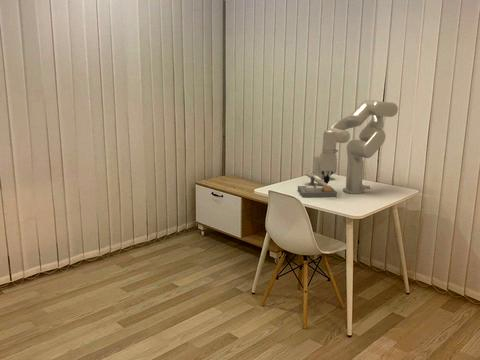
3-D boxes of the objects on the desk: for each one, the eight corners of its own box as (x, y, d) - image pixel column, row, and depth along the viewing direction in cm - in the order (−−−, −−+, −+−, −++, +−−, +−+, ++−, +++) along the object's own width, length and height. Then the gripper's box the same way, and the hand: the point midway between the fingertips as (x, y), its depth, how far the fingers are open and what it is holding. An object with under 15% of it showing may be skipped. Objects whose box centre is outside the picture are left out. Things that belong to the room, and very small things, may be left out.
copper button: (329, 190, 279) (329, 185, 278) (331, 192, 275) (331, 187, 274) (322, 190, 279) (322, 185, 278) (323, 192, 274) (324, 187, 274)
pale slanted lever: (326, 184, 297) (306, 172, 299) (321, 192, 299) (302, 180, 301) (328, 182, 304) (309, 169, 307) (323, 189, 307) (305, 177, 309)
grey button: (312, 190, 278) (313, 185, 278) (314, 192, 274) (314, 187, 274) (305, 190, 278) (305, 185, 278) (306, 192, 274) (307, 187, 273)
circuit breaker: (332, 181, 314) (333, 158, 311) (312, 178, 322) (313, 156, 318) (336, 179, 320) (337, 157, 317) (317, 176, 328) (318, 155, 325)
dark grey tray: (330, 190, 289) (330, 185, 289) (336, 197, 274) (336, 192, 273) (297, 190, 288) (297, 185, 287) (302, 197, 273) (302, 192, 272)
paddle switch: (314, 185, 287) (314, 176, 285) (315, 187, 282) (316, 177, 281) (308, 185, 286) (308, 176, 285) (309, 187, 282) (310, 177, 281)
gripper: (339, 150, 275) (337, 181, 279) (314, 150, 274) (312, 181, 278) (343, 153, 268) (340, 184, 272) (317, 152, 267) (314, 183, 271)
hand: (326, 182), depth 275 cm, fingers closed
